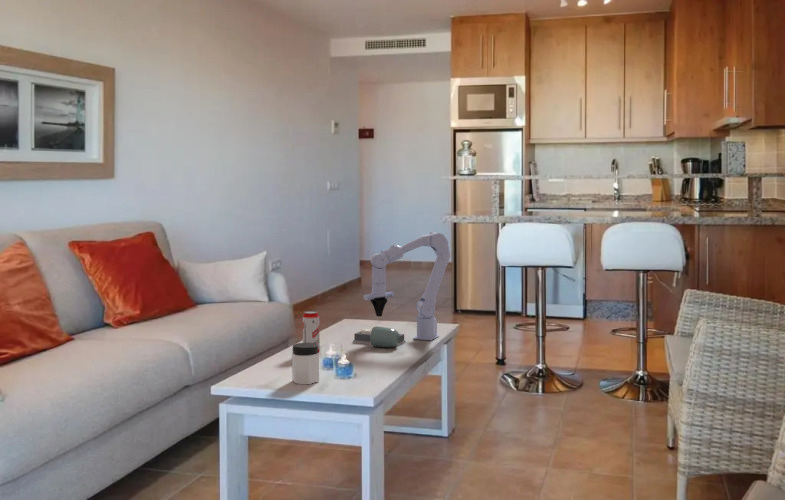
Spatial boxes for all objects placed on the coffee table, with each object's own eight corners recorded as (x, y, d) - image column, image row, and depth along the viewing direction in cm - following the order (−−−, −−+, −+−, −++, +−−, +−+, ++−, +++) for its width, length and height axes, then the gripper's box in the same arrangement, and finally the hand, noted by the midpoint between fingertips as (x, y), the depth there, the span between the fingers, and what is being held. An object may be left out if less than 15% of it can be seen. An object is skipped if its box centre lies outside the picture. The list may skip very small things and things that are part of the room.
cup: (394, 329, 302) (370, 327, 305) (393, 349, 302) (369, 347, 305) (401, 327, 309) (378, 325, 313) (400, 347, 309) (377, 345, 313)
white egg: (363, 336, 322) (363, 328, 322) (372, 336, 320) (372, 329, 320) (359, 337, 318) (359, 330, 318) (368, 338, 317) (368, 331, 316)
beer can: (322, 352, 298) (322, 311, 296) (315, 356, 292) (315, 313, 290) (307, 351, 300) (306, 310, 298) (300, 355, 294) (299, 312, 292)
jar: (306, 376, 261) (306, 341, 260) (324, 380, 256) (323, 344, 255) (286, 382, 254) (286, 345, 253) (304, 386, 249) (303, 349, 248)
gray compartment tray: (362, 338, 325) (362, 330, 325) (405, 342, 317) (405, 334, 316) (352, 342, 317) (352, 333, 317) (397, 346, 309) (397, 337, 309)
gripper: (386, 280, 327) (386, 312, 328) (358, 283, 318) (358, 316, 319) (397, 282, 322) (397, 315, 323) (369, 285, 312) (369, 319, 314)
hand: (379, 316), depth 321 cm, fingers closed
